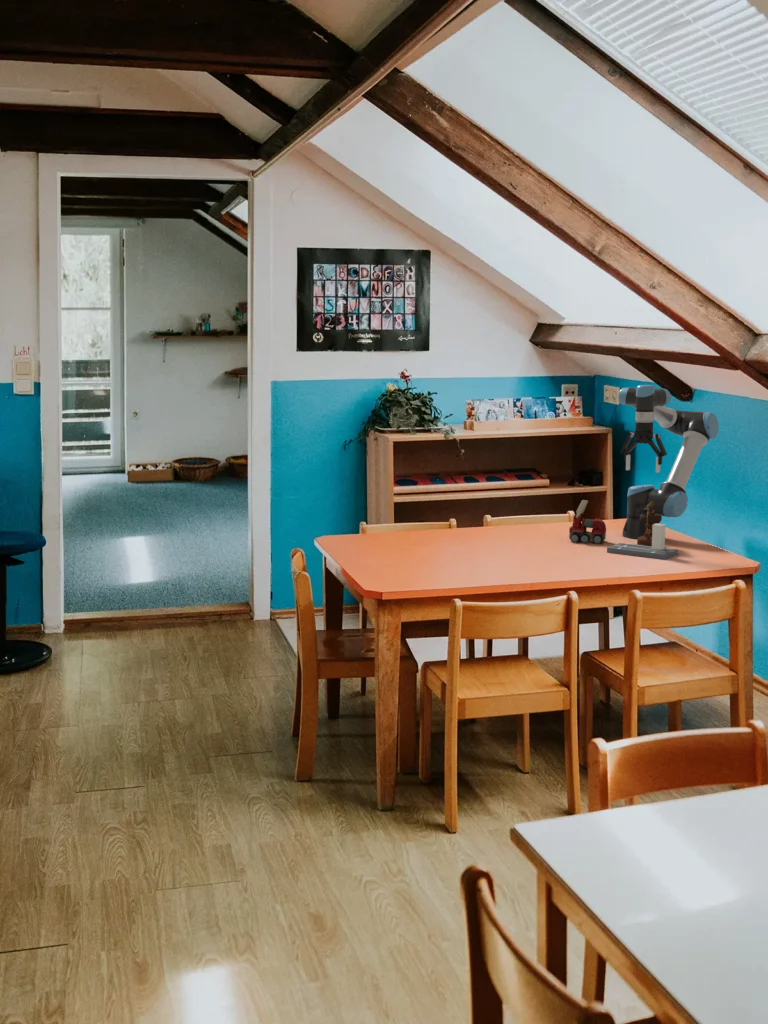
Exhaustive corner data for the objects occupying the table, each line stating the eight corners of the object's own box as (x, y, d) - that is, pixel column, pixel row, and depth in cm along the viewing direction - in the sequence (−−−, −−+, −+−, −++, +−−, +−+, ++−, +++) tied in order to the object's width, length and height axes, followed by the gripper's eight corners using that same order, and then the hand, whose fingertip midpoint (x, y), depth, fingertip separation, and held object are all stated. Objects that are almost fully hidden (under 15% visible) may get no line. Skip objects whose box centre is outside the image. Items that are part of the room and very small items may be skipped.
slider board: (619, 547, 480) (620, 541, 479) (677, 554, 464) (678, 548, 464) (606, 552, 469) (607, 546, 469) (665, 559, 454) (665, 553, 454)
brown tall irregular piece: (662, 549, 474) (659, 503, 471) (636, 550, 477) (633, 504, 474) (664, 543, 488) (661, 498, 485) (638, 543, 492) (636, 499, 489)
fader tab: (654, 548, 466) (655, 523, 464) (666, 549, 463) (667, 524, 461) (650, 550, 462) (650, 524, 460) (661, 551, 459) (662, 526, 457)
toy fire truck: (603, 544, 487) (604, 504, 484) (568, 542, 492) (569, 503, 489) (607, 540, 497) (608, 500, 494) (572, 537, 502) (573, 499, 499)
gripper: (613, 420, 477) (612, 469, 481) (668, 423, 463) (667, 474, 466) (620, 419, 483) (619, 468, 487) (675, 422, 469) (673, 472, 472)
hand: (642, 471), depth 477 cm, fingers open, 13 cm apart
